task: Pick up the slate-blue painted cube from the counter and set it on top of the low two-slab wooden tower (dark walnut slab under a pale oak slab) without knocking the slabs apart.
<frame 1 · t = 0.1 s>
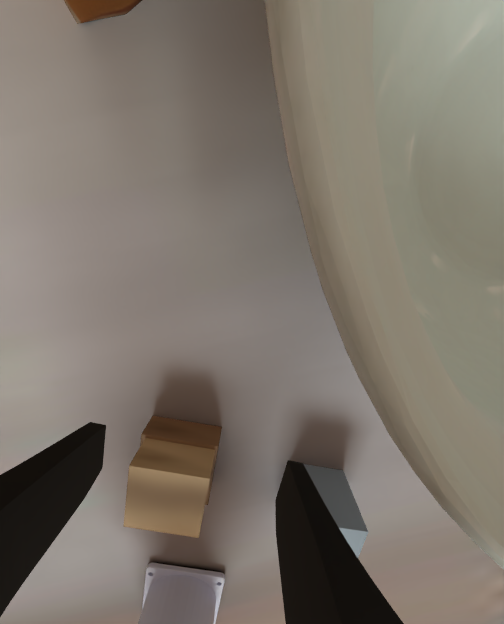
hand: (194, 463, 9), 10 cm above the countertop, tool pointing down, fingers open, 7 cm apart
oak slab: (176, 471, 19), point 2 cm above the countertop, touching walnut slab
slate block: (309, 486, 22), on the countertop
bowl: (494, 170, 16), on the countertop
walnut slab: (184, 446, 22), on the countertop, touching oak slab
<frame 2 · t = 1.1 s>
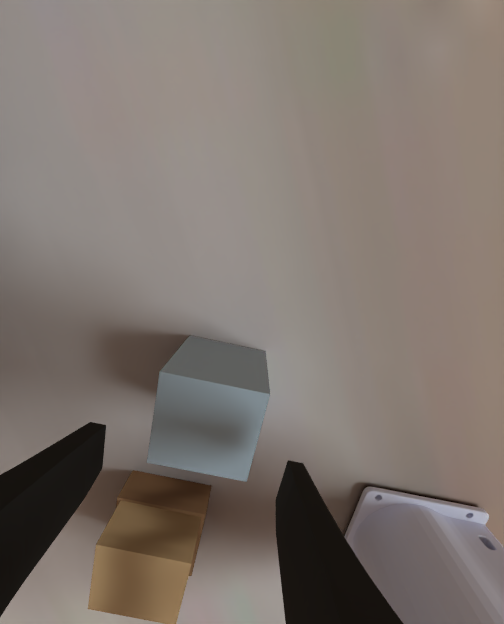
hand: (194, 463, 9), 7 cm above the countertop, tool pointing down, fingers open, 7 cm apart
oak slab: (155, 538, 17), point 2 cm above the countertop, touching walnut slab
slate block: (220, 376, 16), on the countertop
walnut slab: (168, 502, 19), on the countertop, touching oak slab
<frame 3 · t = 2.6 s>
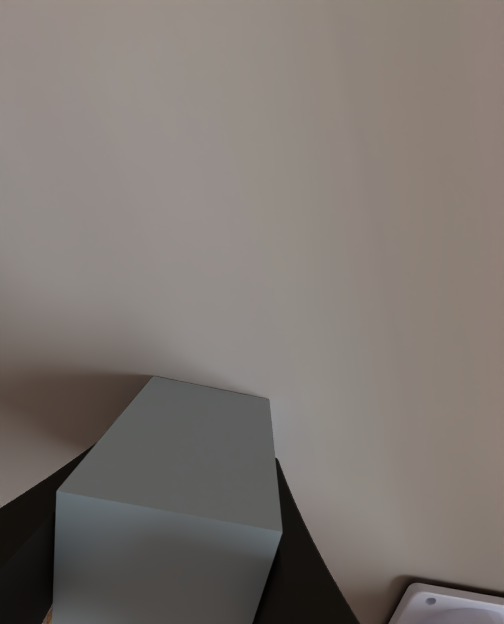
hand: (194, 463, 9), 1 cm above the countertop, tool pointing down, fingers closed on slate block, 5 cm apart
slate block: (202, 436, 11), on the countertop, touching gripper
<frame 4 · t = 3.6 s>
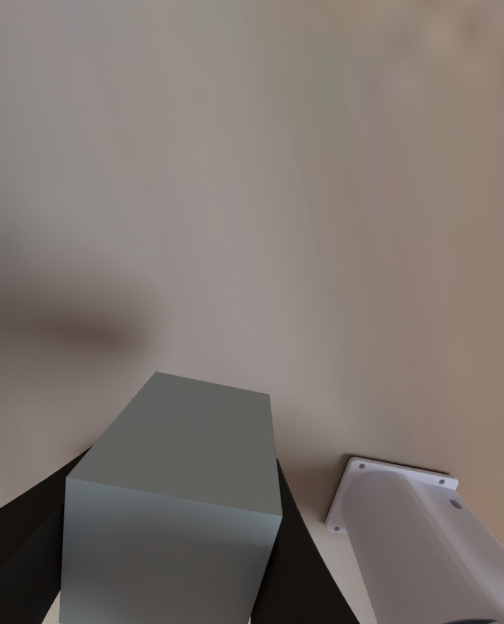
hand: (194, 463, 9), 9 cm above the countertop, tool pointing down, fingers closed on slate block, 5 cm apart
slate block: (203, 431, 11), point 8 cm above the countertop, touching gripper
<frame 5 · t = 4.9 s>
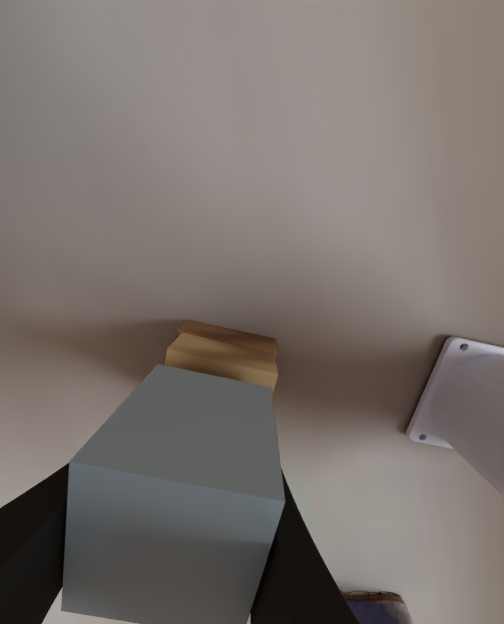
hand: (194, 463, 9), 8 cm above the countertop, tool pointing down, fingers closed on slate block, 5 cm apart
oak slab: (218, 384, 14), point 2 cm above the countertop, touching walnut slab
slate block: (204, 424, 11), point 6 cm above the countertop, touching gripper
flask: (350, 597, 22), on the countertop
walnut slab: (223, 366, 17), on the countertop, touching oak slab
when the fingers open (7 cm above the countertop, at t = 5.4 s): slate block drops 1 cm, resting on oak slab.
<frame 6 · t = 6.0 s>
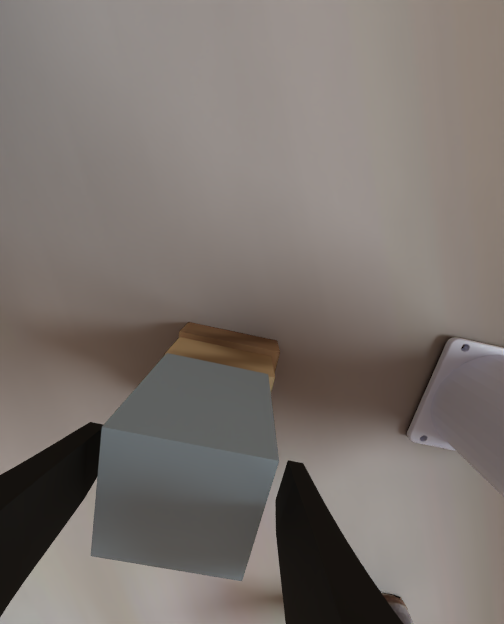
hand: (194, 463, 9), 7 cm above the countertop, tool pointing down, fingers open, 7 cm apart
oak slab: (217, 387, 15), point 2 cm above the countertop, touching slate block, walnut slab
slate block: (208, 407, 12), point 4 cm above the countertop, touching oak slab
flask: (351, 599, 22), on the countertop
walnut slab: (225, 368, 17), on the countertop, touching oak slab
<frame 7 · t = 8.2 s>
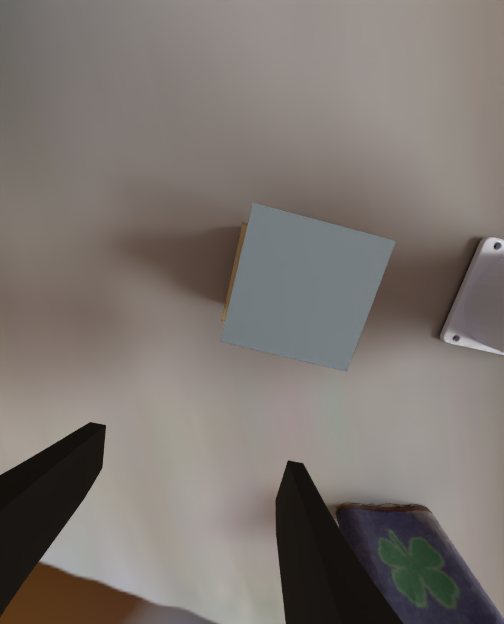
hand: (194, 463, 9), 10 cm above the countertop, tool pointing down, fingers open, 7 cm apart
oak slab: (275, 281, 16), point 2 cm above the countertop, touching slate block, walnut slab
slate block: (285, 279, 13), point 5 cm above the countertop, touching oak slab
flask: (380, 511, 23), on the countertop
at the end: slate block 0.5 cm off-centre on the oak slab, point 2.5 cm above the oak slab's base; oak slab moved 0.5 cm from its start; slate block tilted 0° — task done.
